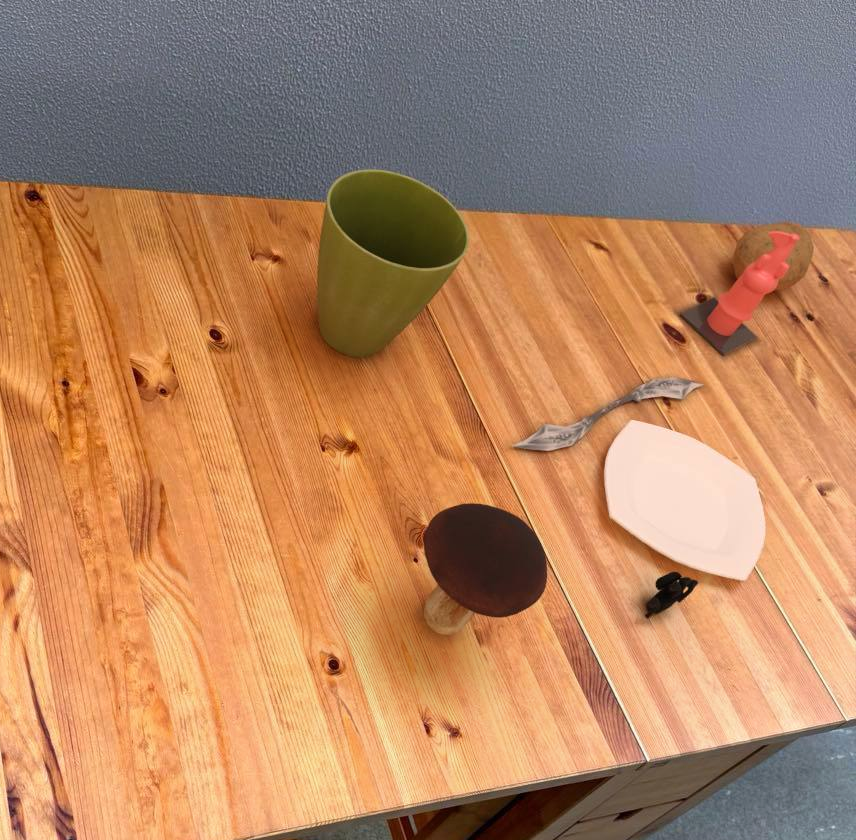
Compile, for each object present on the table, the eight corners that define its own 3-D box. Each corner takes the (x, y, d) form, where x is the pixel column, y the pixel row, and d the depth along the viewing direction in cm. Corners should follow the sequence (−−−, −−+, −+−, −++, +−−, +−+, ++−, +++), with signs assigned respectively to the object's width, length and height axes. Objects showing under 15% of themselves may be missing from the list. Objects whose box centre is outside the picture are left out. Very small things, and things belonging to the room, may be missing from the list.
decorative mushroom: (414, 688, 85) (483, 602, 73) (363, 583, 90) (420, 487, 78) (514, 658, 90) (594, 573, 78) (461, 560, 95) (528, 466, 83)
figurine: (700, 328, 127) (773, 236, 115) (704, 305, 130) (775, 214, 118) (735, 345, 127) (812, 255, 115) (738, 322, 130) (813, 232, 118)
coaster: (755, 339, 130) (757, 337, 130) (723, 356, 126) (725, 354, 125) (712, 299, 132) (714, 297, 132) (679, 314, 128) (680, 312, 128)
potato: (699, 272, 135) (734, 226, 129) (749, 246, 143) (784, 201, 137) (753, 318, 132) (791, 273, 126) (800, 289, 140) (839, 245, 134)
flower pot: (336, 268, 114) (379, 150, 102) (437, 340, 112) (495, 229, 100) (260, 325, 106) (297, 204, 93) (369, 405, 103) (422, 291, 91)
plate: (749, 609, 102) (761, 600, 100) (582, 530, 102) (591, 519, 100) (760, 484, 113) (771, 474, 112) (610, 413, 113) (619, 402, 112)
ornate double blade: (705, 388, 120) (677, 361, 122) (707, 385, 120) (679, 358, 122) (536, 476, 104) (506, 443, 106) (538, 472, 103) (508, 439, 105)
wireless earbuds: (637, 625, 96) (665, 599, 92) (621, 605, 97) (648, 578, 93) (682, 602, 100) (711, 577, 96) (667, 583, 101) (695, 557, 97)
